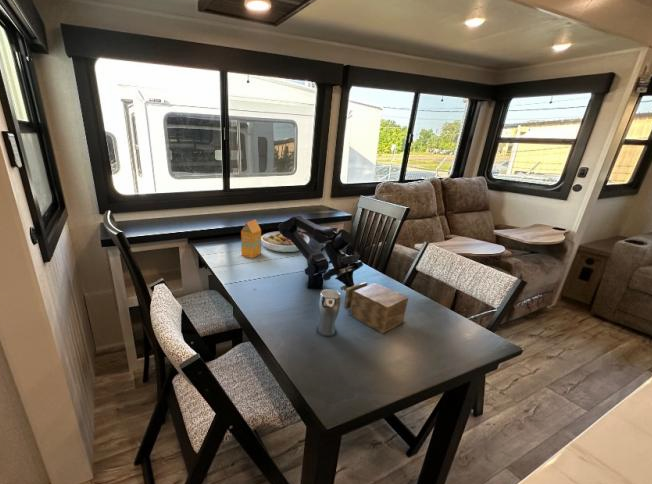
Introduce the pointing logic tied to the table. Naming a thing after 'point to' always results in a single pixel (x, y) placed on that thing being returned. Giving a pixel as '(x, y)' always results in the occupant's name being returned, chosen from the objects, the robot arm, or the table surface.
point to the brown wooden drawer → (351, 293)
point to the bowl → (280, 242)
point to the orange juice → (251, 239)
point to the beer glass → (328, 311)
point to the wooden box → (379, 307)
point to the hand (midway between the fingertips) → (353, 289)
